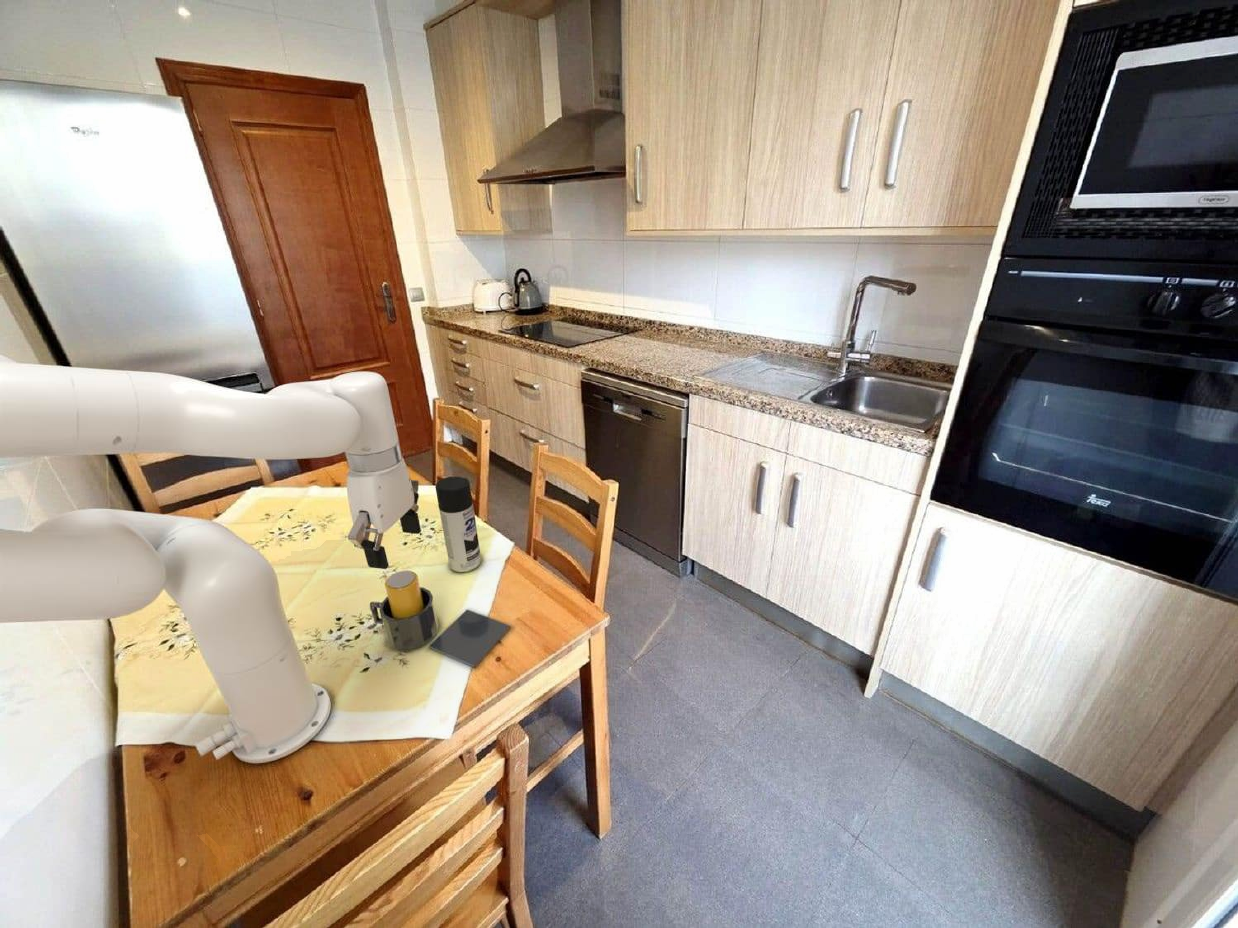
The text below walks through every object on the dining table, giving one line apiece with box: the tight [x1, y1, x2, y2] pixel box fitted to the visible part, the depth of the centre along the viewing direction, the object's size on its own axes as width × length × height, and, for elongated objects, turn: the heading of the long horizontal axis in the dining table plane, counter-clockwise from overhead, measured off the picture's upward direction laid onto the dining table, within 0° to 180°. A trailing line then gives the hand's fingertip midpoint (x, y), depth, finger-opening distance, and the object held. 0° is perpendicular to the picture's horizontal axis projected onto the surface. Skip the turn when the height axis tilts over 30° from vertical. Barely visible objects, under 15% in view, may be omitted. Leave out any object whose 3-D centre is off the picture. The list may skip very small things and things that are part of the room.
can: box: [384, 570, 424, 619], centre depth 88 cm, size 5×5×12 cm
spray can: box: [435, 476, 482, 573], centre depth 105 cm, size 7×7×20 cm
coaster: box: [428, 609, 511, 669], centre depth 90 cm, size 10×10×1 cm
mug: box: [369, 586, 439, 652], centre depth 89 cm, size 12×9×7 cm
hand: (396, 548), depth 83 cm, fingers open, 9 cm apart
